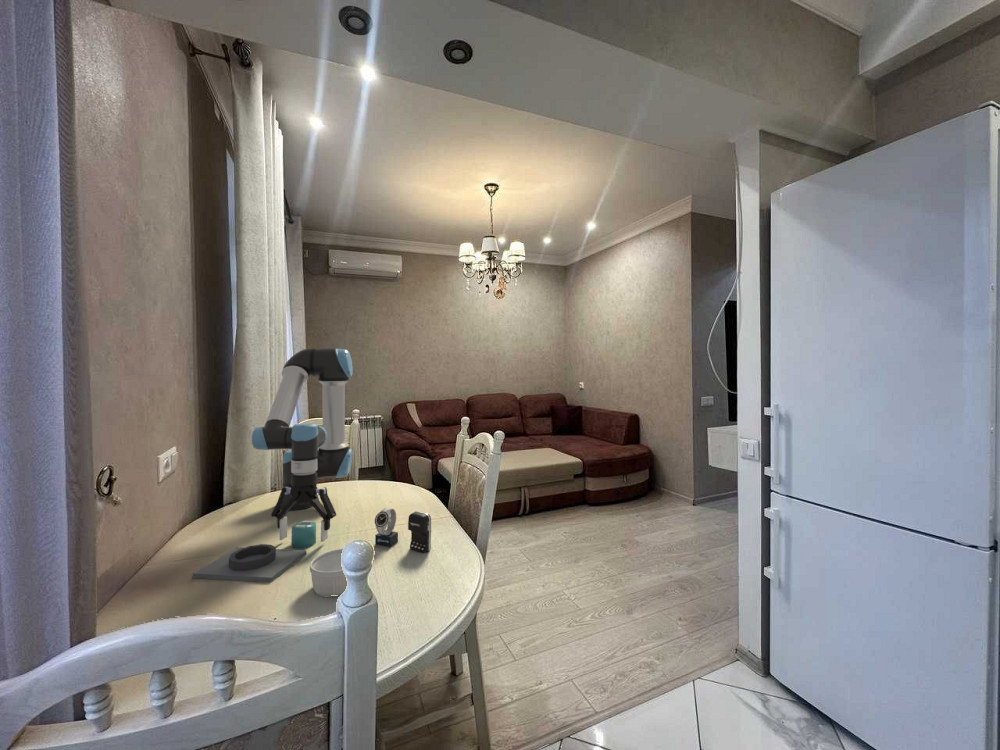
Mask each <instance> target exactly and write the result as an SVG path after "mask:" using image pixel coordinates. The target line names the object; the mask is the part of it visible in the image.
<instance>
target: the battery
mask: <svg viewBox="0 0 1000 750" xmlns="http://www.w3.org/2000/svg"><path fill="white" fill-rule="evenodd" d="M407 520H408V521H407V523H408V524H407V530H408V531H410V532H411V535H410V536H411V537H410V538H411V539H410V544H409V549H410V550H412V551H415V552H419V553H423V554H424V553H427V552H429V551H430V550H431V549H432V548H431V537H432V516H431V514H429V513H428V512H424V511H420V510H415V511H414V512H412V513H410V514H409V515H408V519H407Z"/></svg>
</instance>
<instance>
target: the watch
mask: <svg viewBox="0 0 1000 750" xmlns="http://www.w3.org/2000/svg"><path fill="white" fill-rule="evenodd" d="M396 522H397V512H396V510H395V509H394V508H391V507H390V508H389V507H385V508H383V509H381V510H380V511H379V512H378V513H377V514H376V515H375V517H374V525H375V529H376V531H377V533H376V534H374V535H375V537H374V538H375V539H374V543H375V544H374V545H375V546H380V547H385V548H391V547H393V546H394V545H396V544H397V543H399V532H398V531H394V529H395V528H396V527H395V526H396Z"/></svg>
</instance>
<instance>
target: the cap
mask: <svg viewBox="0 0 1000 750" xmlns="http://www.w3.org/2000/svg"><path fill="white" fill-rule="evenodd" d="M290 543H291V544H290V545H291V546H290V547H291V548H293V549H294V550H303V549H307V548H310V547H313V546H315V545H316V543H317V523H316V521H313V520H303V521H301V522H297V523H294V524H293V525H292V526H291V542H290Z"/></svg>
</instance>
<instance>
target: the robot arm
mask: <svg viewBox="0 0 1000 750" xmlns="http://www.w3.org/2000/svg"><path fill="white" fill-rule="evenodd" d="M353 370H354V369H353V360H352V356H351V354H350V351H349V350H348V349H344V348H337V347H335V348H325V347H324V348H320V347H319V348H314V347H308V348H305V349H302V350H299V351H298V352H296V353H294V355H292V356H291V357H289V359H288V360H287V361H286V362H285V363H284V365H283V367H282V371H281V378H282V379H281V382H280V384H279V386H278V388H277V392H276V394H275V396H274V399H273V402H272V404H271V407H270V410H269V413H268V416H267V419H266V421H265V424H264V426H259V427H256V428H255V429H254V430H253V431H252V433H251V445H252V447H253V448H254V449H255V450H258V451H259V450H261V451H265V450H266V451H270V450H271V451H272V450H286V451H284V453H283V455H282V462H281V465H282V487H281V490H280V493H279V496H278V499H277V502H276V504H275V506H274V508H273V510H272V511H271V518H273V517H274V518H276V519H277V522H276V523H277V529H279V538H278V539H279V541H282V540H284V539H286V538H288V516H287V514H288V512H289V511H298V510H304V509H308V508H311V507H312V508H314V509H315V511H316V512H317V514H319V516H320V517H321V519H322V520H321V521H320V543H324V542H326V540H328V530H330V528H331V519H333V518H335V517H336V516H337V512H336V509H335V508H334V506H333V503H332V502H331V499H330V497H329V494H328V489H327V487H326V486H324V487H321V488H318V485H317V484H318V479H338V478H346V477H348V476H349V474H350V471H351V469H352V468H351V467H352V464H353V463H352V462H353V458H354V456H353V455H354V453H353V452H354V451H353V449H352V448H350V447H349V443H348V442H347V441H346V440H345V439H346V434H345V433H346V432H345V431H346V427H345V426H346V423H345V422H346V421H345V420H346V419H345V418H346V412H345V411H346V410H345V409H346V405H345V403H346V402H345V401H346V398H345V395H346V394H345V393H346V387H345V386H346V384H347V383H348V382H349V378H351V377H352V376H353V374H354V372H353ZM309 377H315V378H316V377H318V378H317V379H318V383H320V384H321V385H322V392H321V393H322V425H318V424H316V423H313V422H312V423H310V422H308V423H307V422H304V423H296V424H293V426H291V423H292V420H293V417H294V414H295V410H296V408H297V406H298V405H297V404H298V402H299V397H300V395H301V393H302V388H303V386H304V383H306V382H307V381H308V379H309Z"/></svg>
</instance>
